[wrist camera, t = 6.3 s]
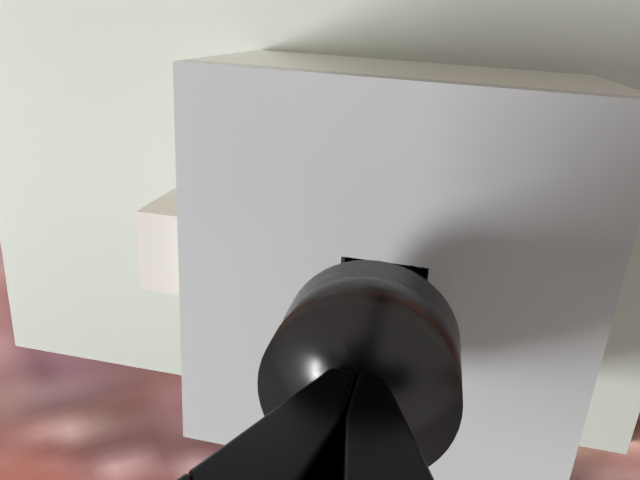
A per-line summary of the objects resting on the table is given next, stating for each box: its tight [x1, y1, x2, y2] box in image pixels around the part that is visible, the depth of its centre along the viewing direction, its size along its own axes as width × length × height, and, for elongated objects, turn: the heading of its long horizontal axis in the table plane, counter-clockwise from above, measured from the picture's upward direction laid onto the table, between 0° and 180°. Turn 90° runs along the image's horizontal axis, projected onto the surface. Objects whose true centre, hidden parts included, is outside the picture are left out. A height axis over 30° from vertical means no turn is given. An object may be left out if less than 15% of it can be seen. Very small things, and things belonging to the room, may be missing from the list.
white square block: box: [136, 50, 640, 480], centre depth 15 cm, size 10×9×6 cm
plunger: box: [257, 257, 463, 467], centre depth 12 cm, size 7×7×7 cm
